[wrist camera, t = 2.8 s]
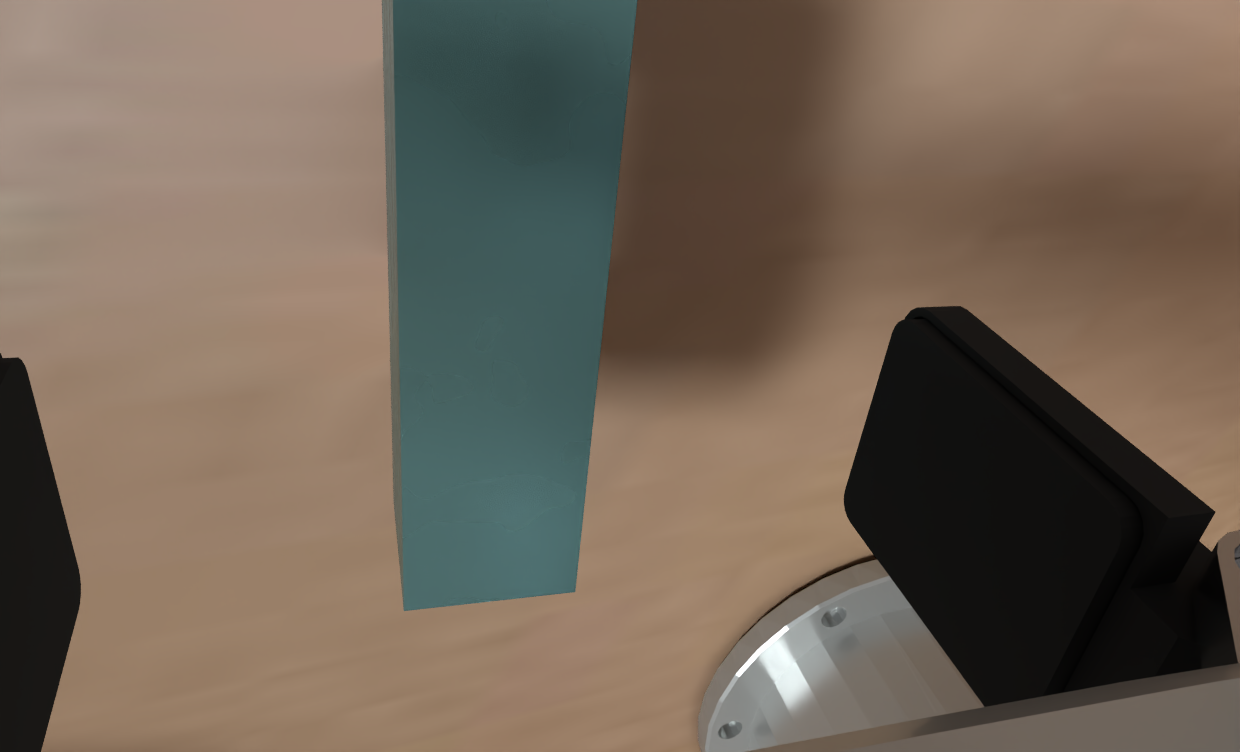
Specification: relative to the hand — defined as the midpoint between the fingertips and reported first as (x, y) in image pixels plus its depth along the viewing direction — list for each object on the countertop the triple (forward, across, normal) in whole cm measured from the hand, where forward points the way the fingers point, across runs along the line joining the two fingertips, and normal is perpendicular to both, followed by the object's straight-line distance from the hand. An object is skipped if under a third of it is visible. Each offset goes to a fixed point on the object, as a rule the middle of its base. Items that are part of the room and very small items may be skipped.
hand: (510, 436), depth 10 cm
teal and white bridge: (+12, -1, +1) cm, 12 cm away
